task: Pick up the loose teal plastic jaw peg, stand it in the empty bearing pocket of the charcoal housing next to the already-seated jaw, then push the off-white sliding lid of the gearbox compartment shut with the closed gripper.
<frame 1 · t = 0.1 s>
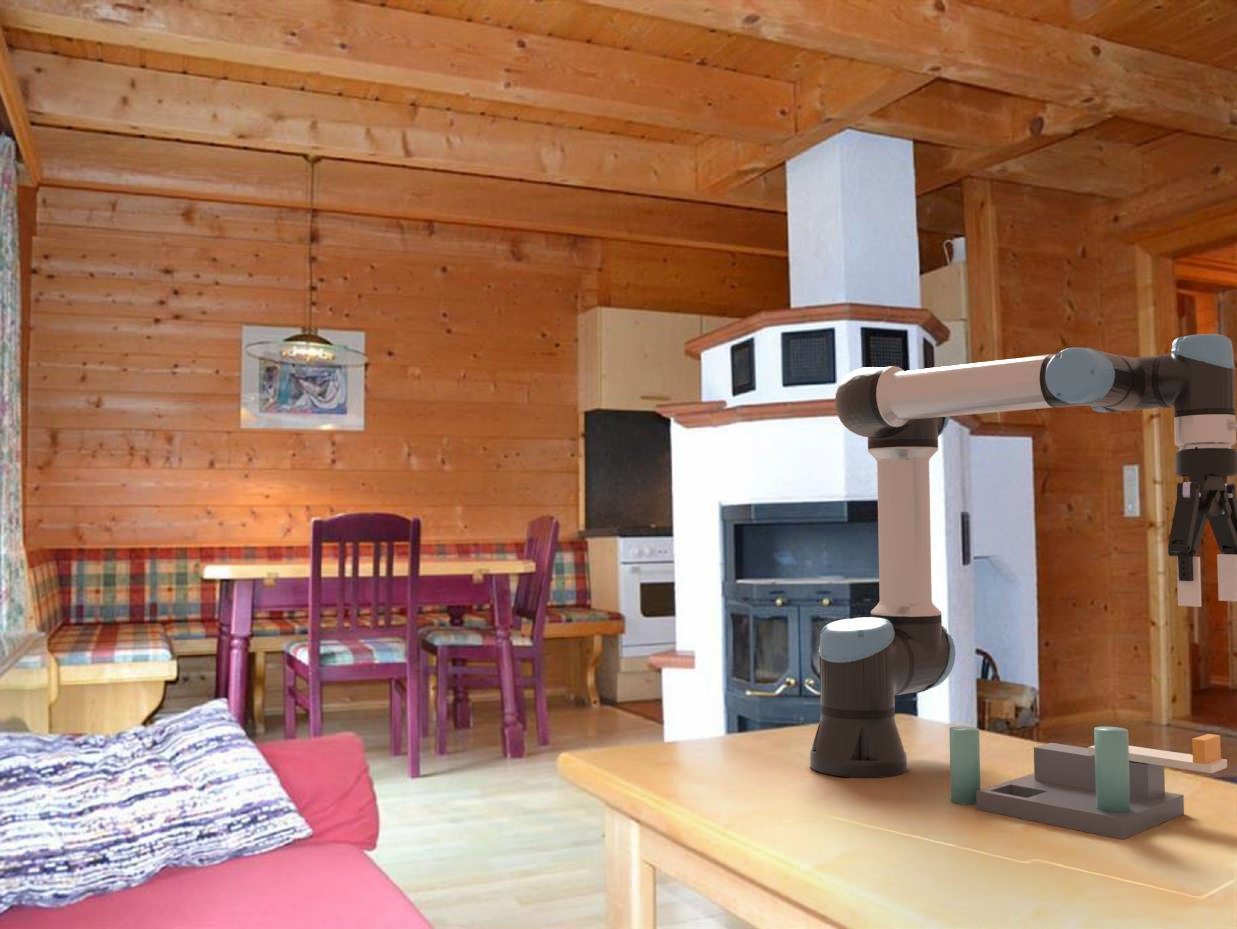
hand: (1210, 603, 155), 28 cm above the table, fingers open, 13 cm apart
jaw peg: (965, 801, 160), on the table
housing: (1079, 811, 154), on the table
lid: (1155, 745, 152), point 9 cm above the table, slide at 8.0 cm
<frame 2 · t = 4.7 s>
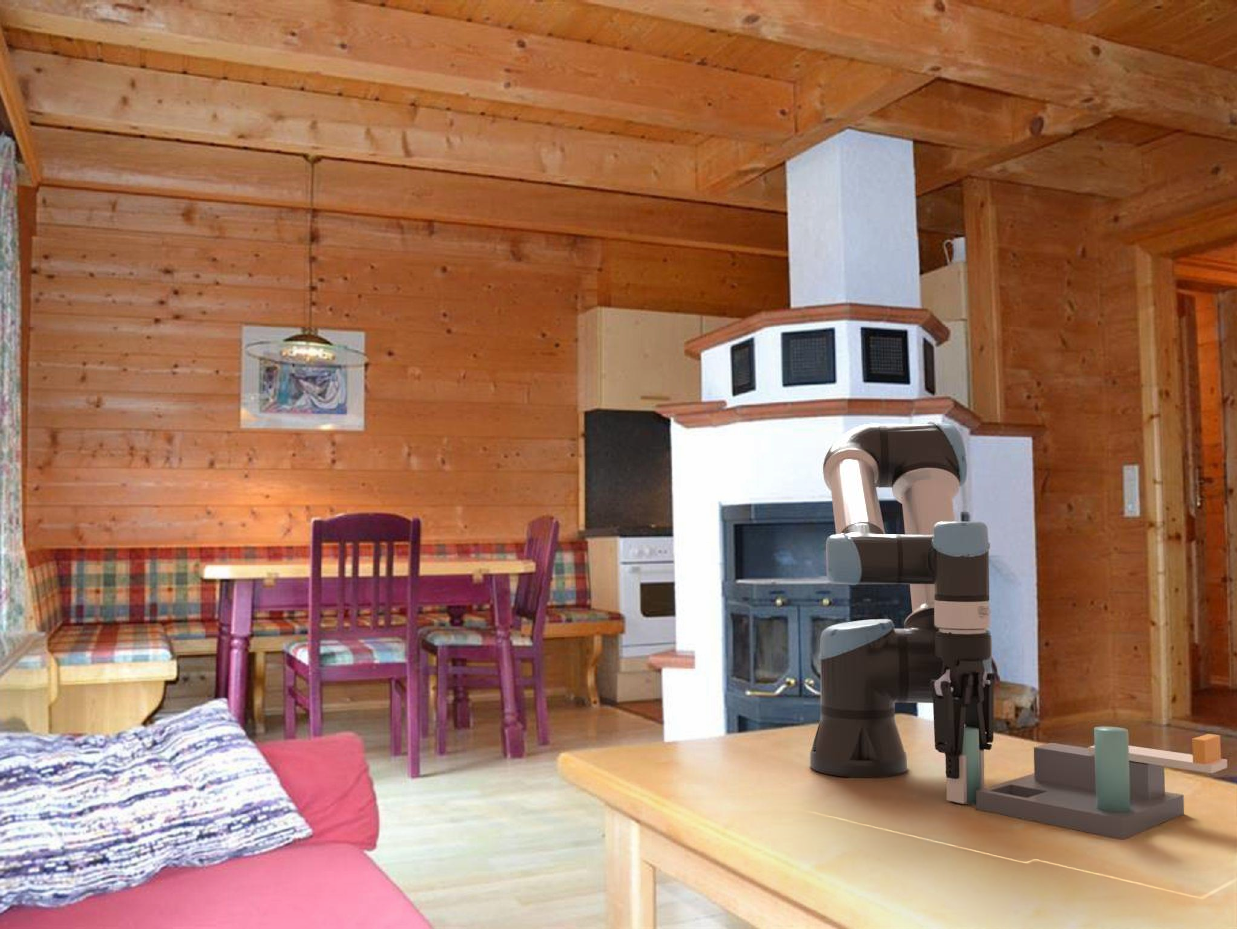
hand: (965, 798, 160), 0 cm above the table, fingers closed on jaw peg, 4 cm apart
jaw peg: (965, 800, 160), on the table, touching gripper
everything else where it was.
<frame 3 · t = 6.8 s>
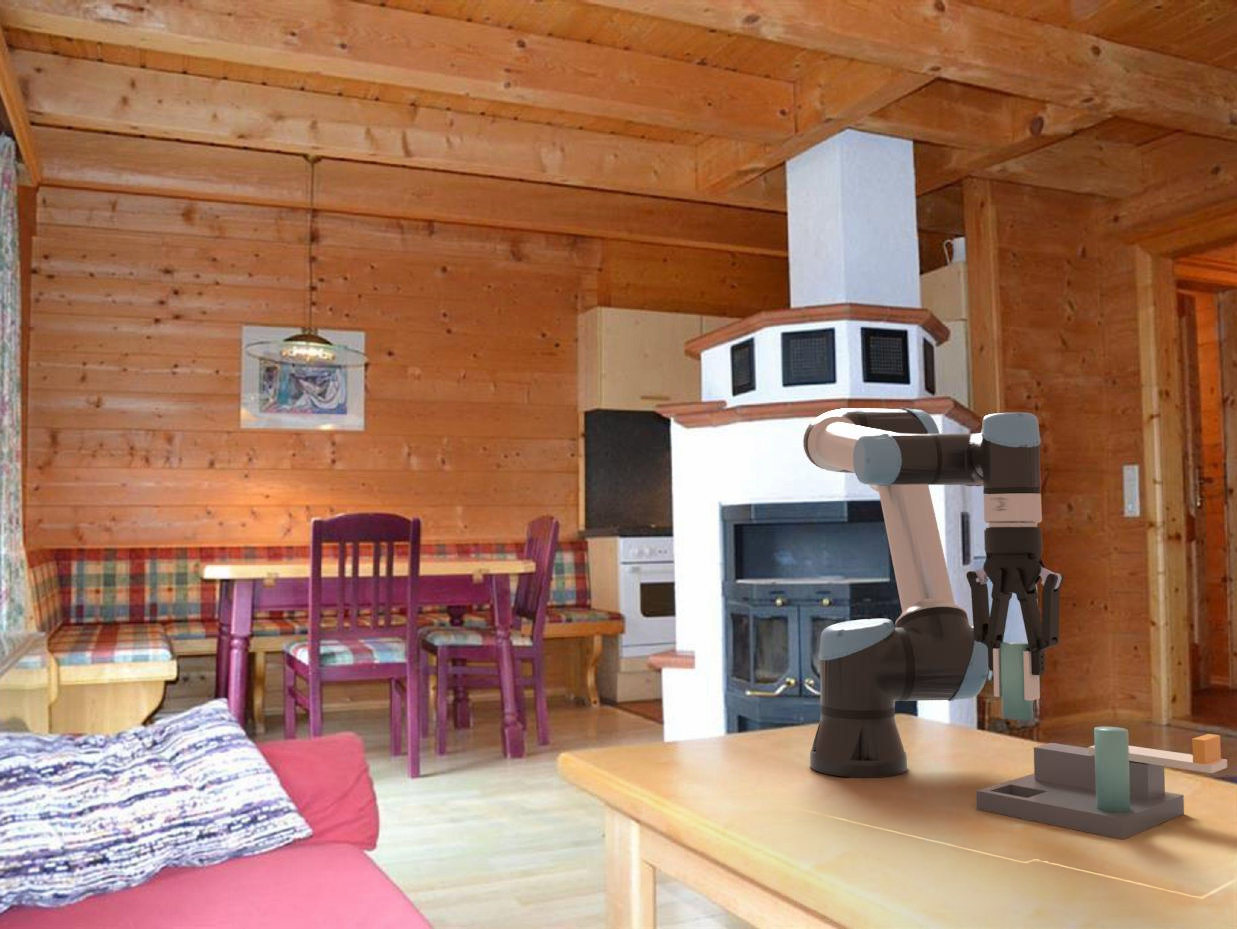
hand: (1016, 697, 155), 15 cm above the table, fingers closed on jaw peg, 4 cm apart
jaw peg: (1017, 717, 155), point 12 cm above the table, touching gripper
everything else where it was.
when the fingers open (3 cm above the table, at t = 9.4 s): jaw peg stays where it is, resting in housing.
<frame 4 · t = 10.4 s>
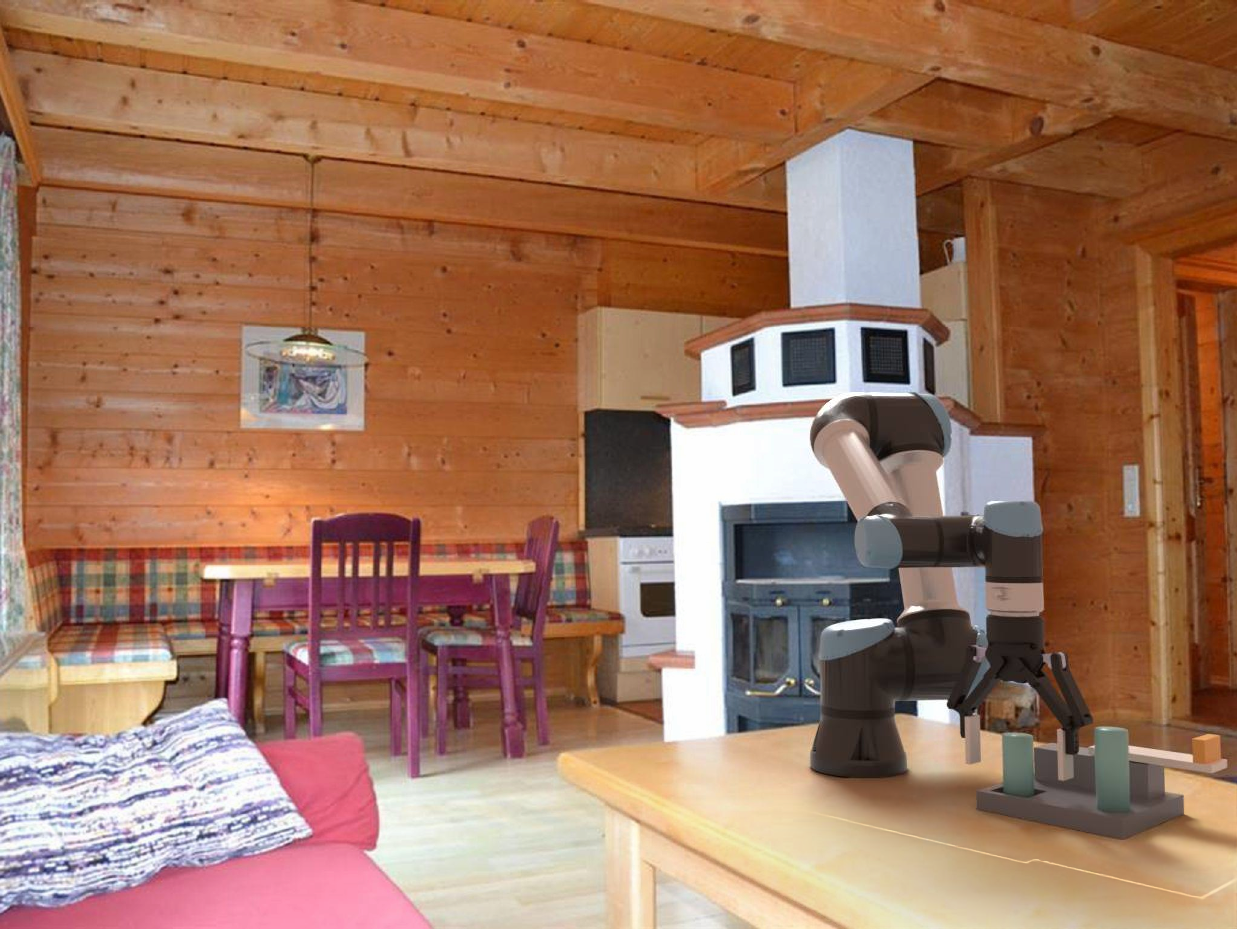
hand: (1018, 770, 155), 5 cm above the table, fingers open, 13 cm apart
jaw peg: (1019, 809, 155), resting in housing
everything else where it was.
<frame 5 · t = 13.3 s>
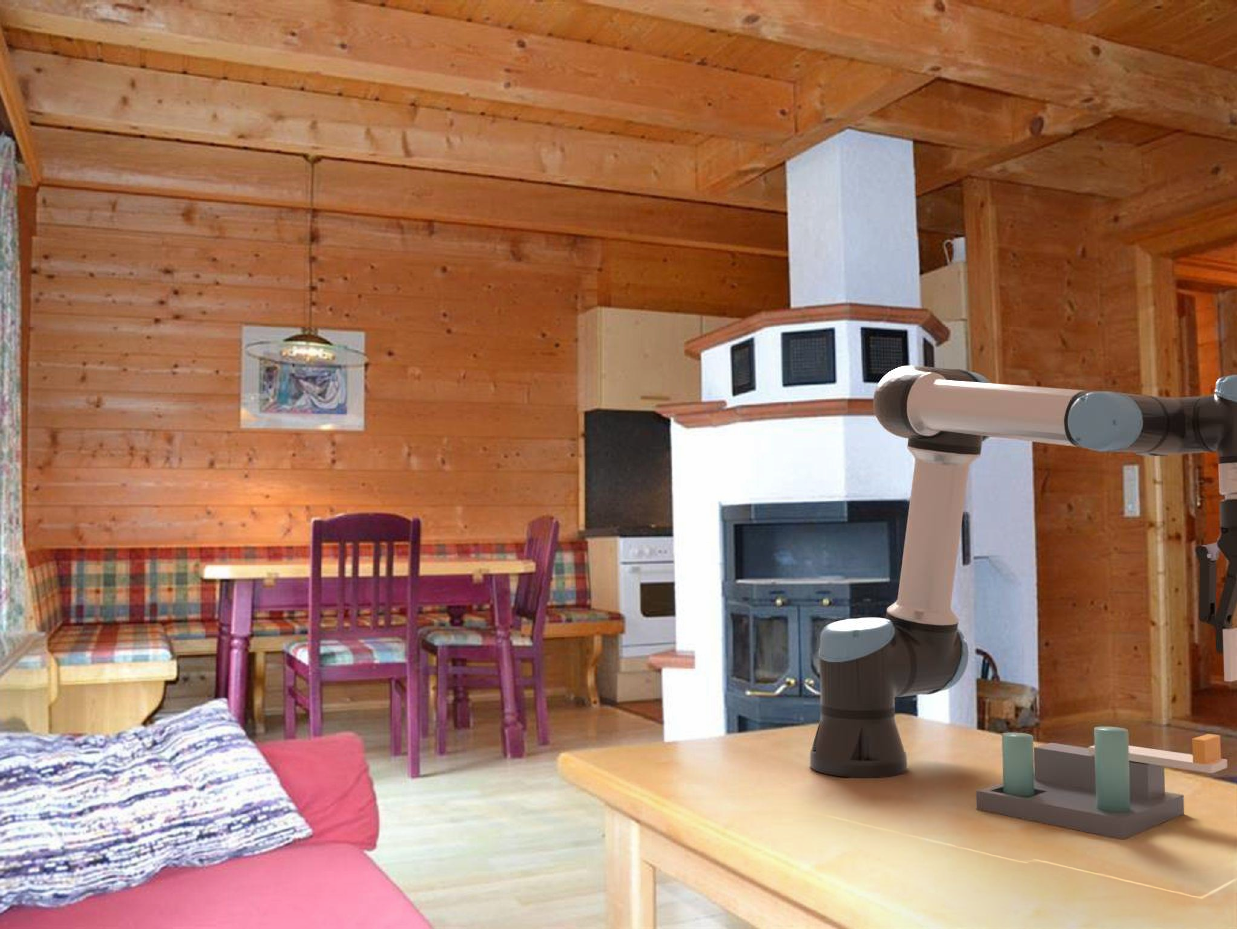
nothing on the table moved.
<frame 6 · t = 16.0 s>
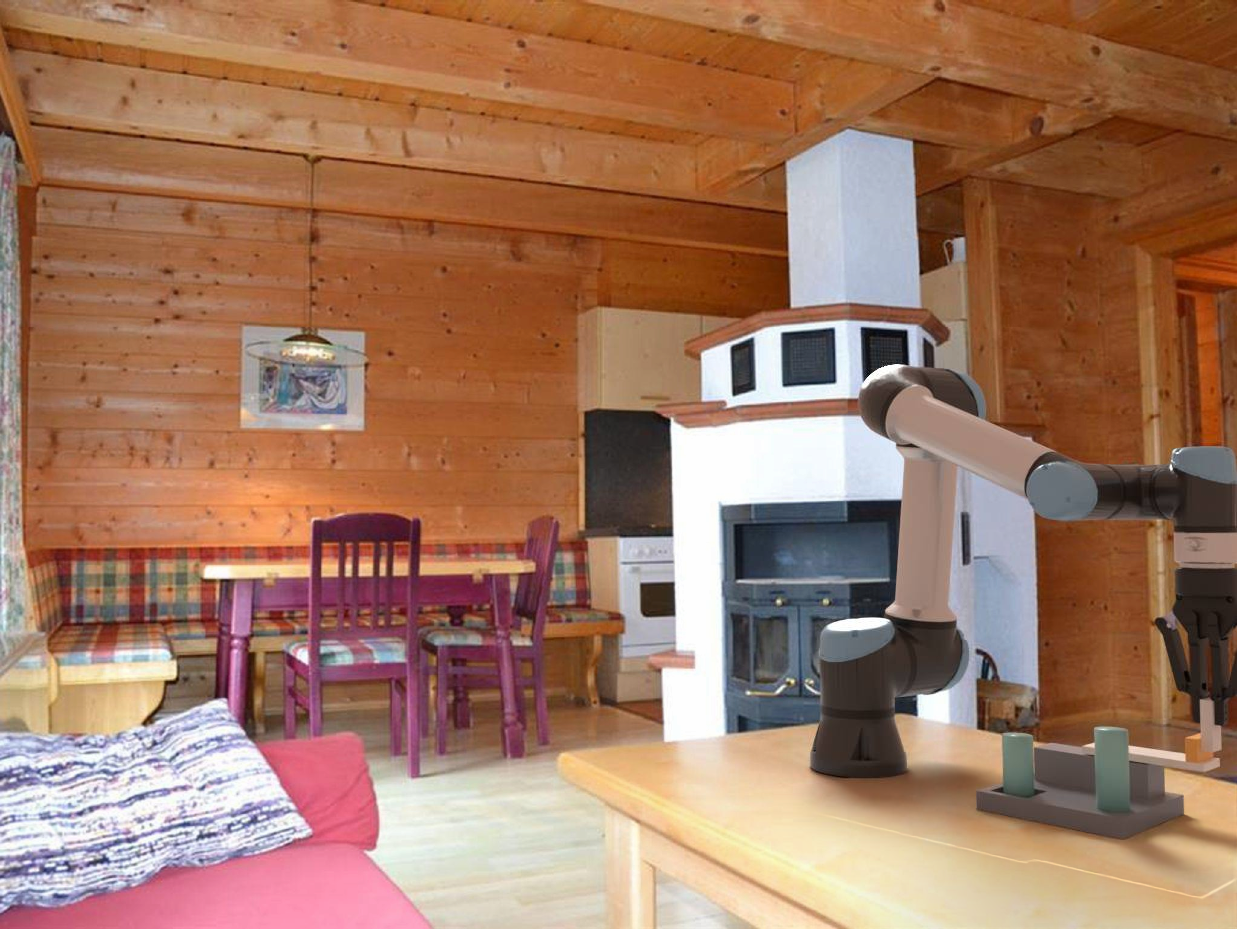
hand: (1211, 749, 146), 10 cm above the table, fingers closed
lid: (1148, 744, 152), point 9 cm above the table, slide at 7.1 cm, touching gripper
everything else where it was.
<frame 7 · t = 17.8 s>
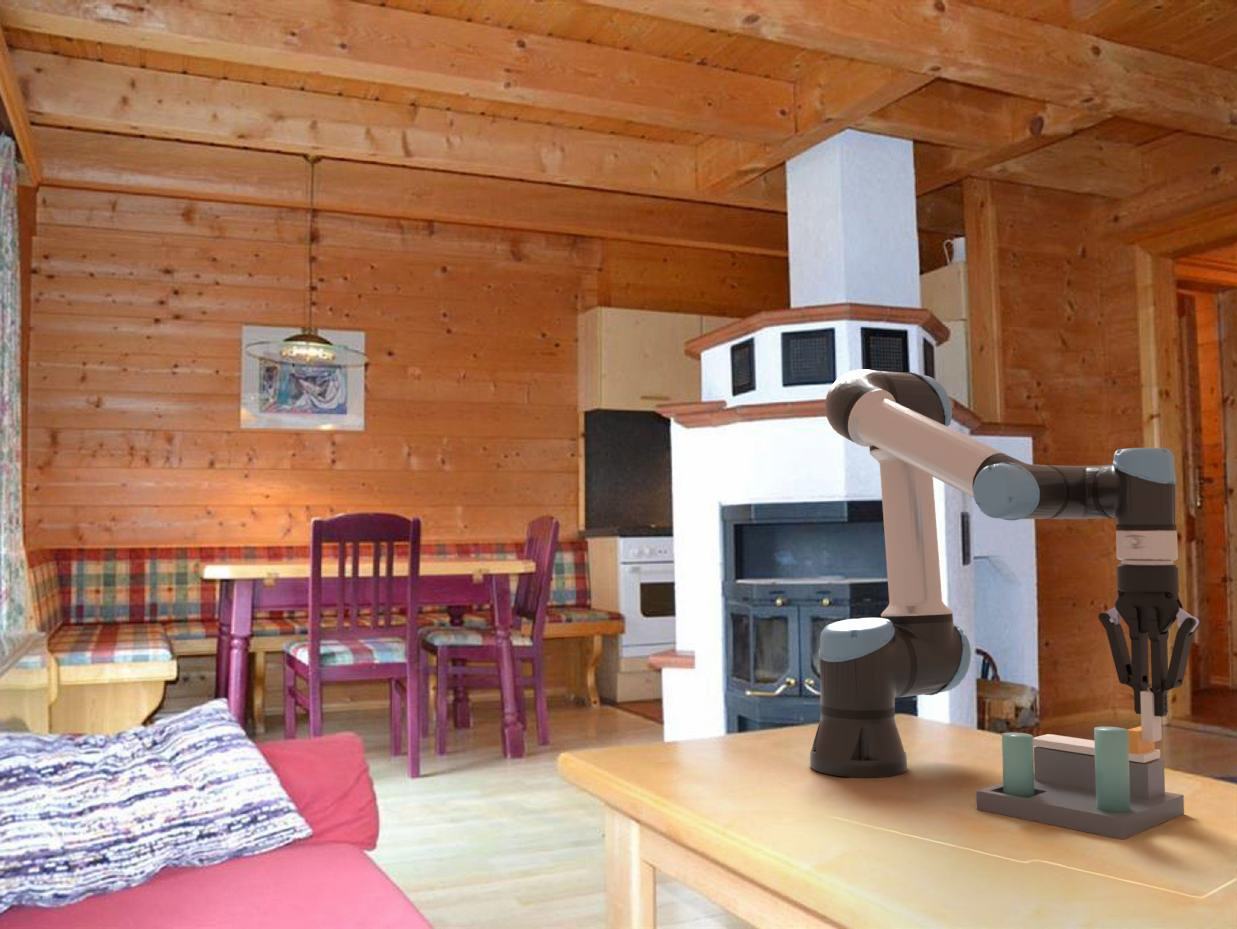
hand: (1151, 739, 152), 10 cm above the table, fingers closed
lid: (1093, 736, 158), point 9 cm above the table, slide at -0.5 cm, touching gripper
everything else where it was.
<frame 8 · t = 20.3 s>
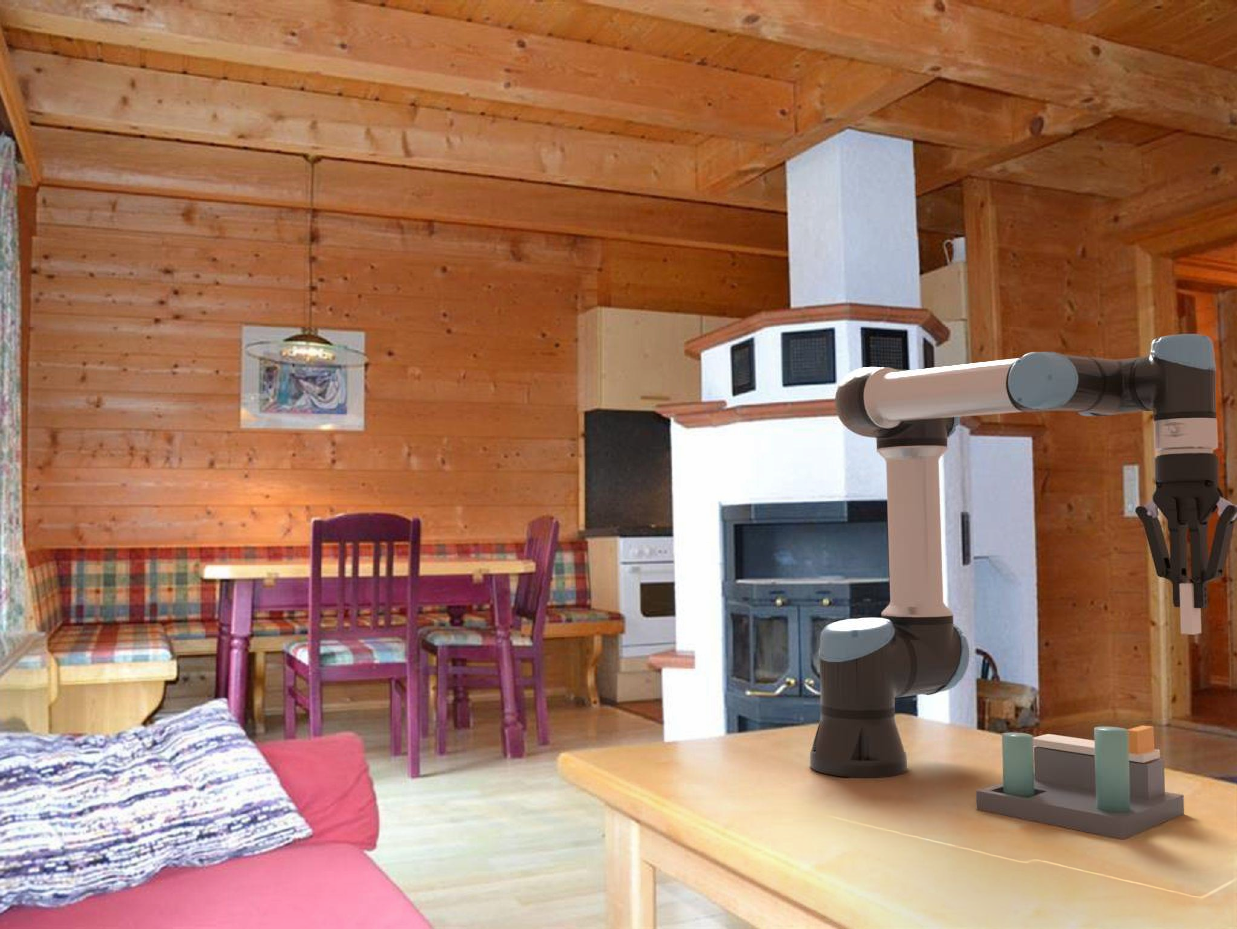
hand: (1191, 633, 149), 24 cm above the table, fingers closed
lid: (1093, 736, 158), point 9 cm above the table, slide at -0.5 cm
everything else where it was.
at the end: jaw peg 0.1 cm from the target spot on the housing, point 0.0 cm above the housing's base; jaw peg tilted 0°; lid slide at -0.5 cm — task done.
